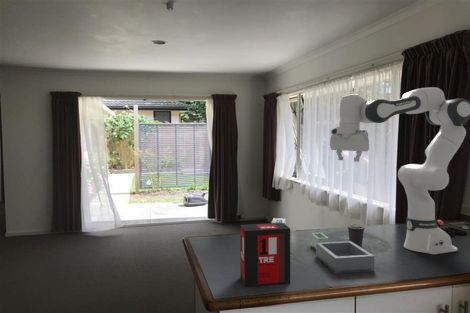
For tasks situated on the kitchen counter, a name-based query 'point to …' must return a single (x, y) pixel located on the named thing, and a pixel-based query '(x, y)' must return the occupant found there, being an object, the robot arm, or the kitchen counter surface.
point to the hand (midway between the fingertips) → (348, 160)
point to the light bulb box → (279, 220)
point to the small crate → (318, 239)
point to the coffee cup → (356, 234)
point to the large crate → (344, 257)
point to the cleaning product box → (264, 254)
